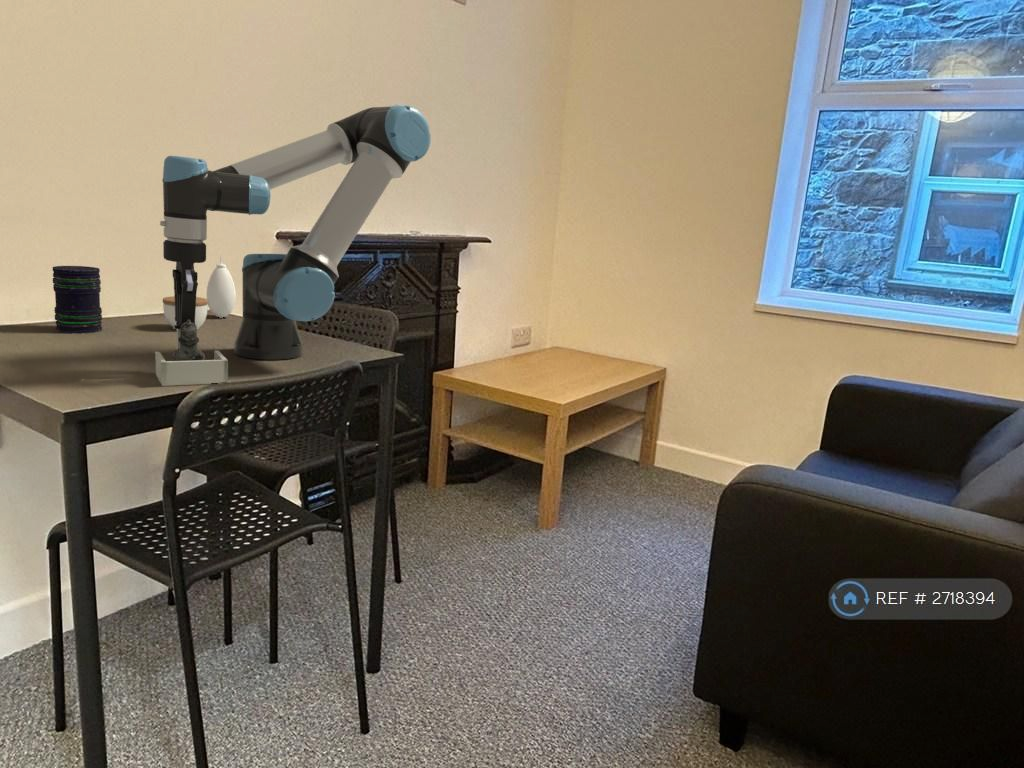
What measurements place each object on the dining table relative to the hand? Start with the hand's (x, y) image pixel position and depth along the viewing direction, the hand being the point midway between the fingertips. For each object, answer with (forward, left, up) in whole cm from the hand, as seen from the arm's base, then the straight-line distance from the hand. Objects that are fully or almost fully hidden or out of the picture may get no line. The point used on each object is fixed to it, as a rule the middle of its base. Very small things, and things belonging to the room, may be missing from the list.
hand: (184, 359), depth 144 cm
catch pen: (0, +5, -3) cm, 6 cm away
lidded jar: (-7, -49, -3) cm, 50 cm away
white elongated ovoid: (-19, -66, -3) cm, 69 cm away
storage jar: (+17, -48, -3) cm, 51 cm away
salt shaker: (0, +2, -2) cm, 3 cm away
